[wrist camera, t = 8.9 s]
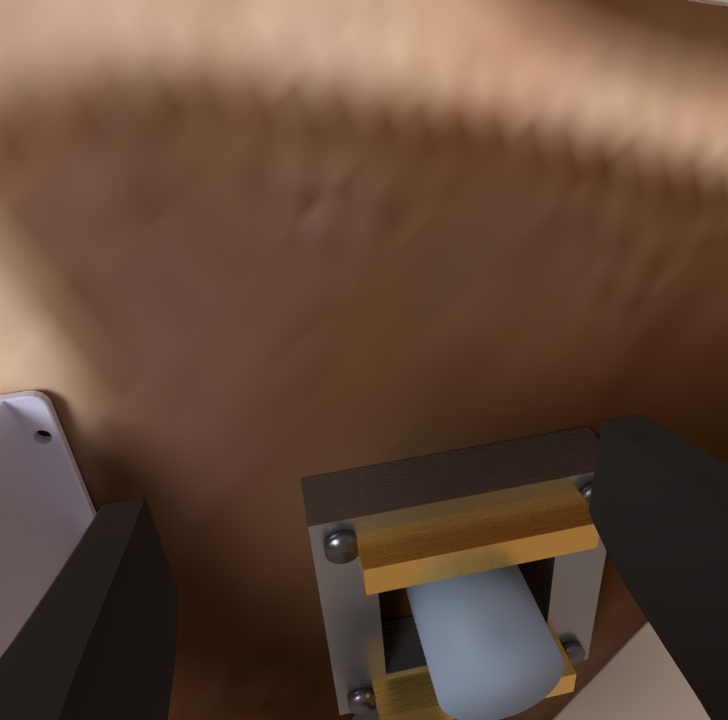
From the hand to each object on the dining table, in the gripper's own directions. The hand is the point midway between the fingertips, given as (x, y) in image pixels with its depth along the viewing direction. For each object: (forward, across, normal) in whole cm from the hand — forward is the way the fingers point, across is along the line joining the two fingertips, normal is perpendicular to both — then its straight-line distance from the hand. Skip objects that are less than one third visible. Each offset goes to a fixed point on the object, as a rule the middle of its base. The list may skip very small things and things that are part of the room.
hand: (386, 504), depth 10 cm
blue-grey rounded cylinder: (+10, -4, +13) cm, 17 cm away
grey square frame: (+10, -4, +14) cm, 18 cm away
